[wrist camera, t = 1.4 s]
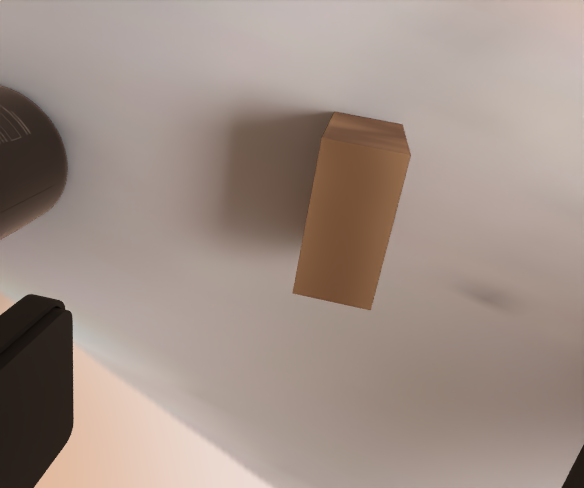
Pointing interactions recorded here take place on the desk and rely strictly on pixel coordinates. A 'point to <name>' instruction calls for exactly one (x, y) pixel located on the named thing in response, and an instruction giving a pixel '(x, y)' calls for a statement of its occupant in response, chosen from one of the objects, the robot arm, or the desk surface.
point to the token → (351, 209)
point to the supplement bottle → (27, 162)
